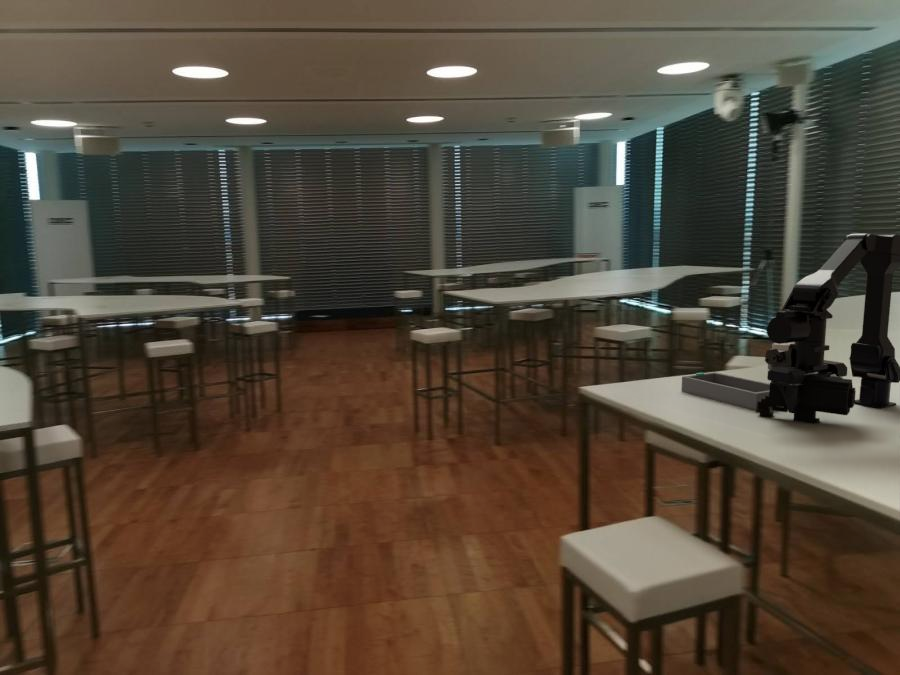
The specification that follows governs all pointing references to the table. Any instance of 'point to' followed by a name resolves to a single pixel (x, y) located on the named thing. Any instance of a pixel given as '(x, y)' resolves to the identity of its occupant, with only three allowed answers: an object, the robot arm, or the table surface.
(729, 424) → the table surface
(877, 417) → the table surface
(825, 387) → the black stepped block
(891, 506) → the table surface
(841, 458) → the table surface
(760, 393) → the gray open-top storage bin
